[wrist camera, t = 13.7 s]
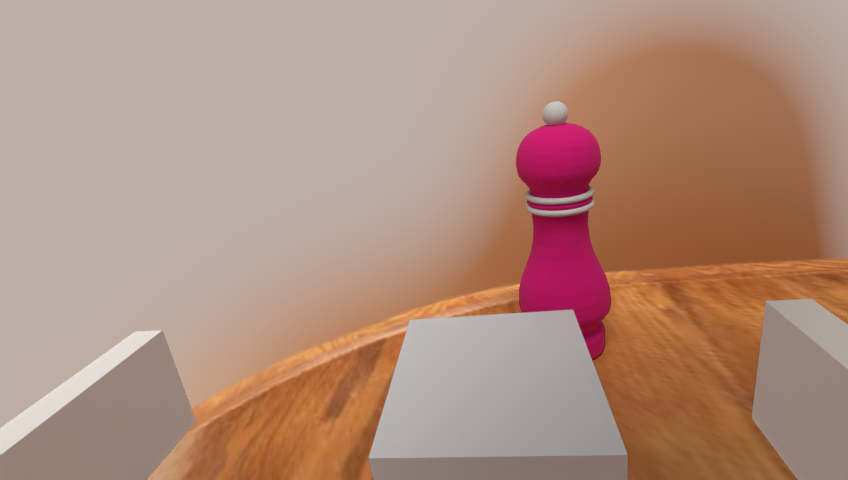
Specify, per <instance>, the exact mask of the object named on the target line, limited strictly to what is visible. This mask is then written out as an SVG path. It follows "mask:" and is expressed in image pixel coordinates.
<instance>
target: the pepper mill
mask: <svg viewBox="0 0 848 480" xmlns="http://www.w3.org/2000/svg"><path fill="white" fill-rule="evenodd" d="M567 118H568V109H567V107H566V106H565V105H564V104H563V103H561V102H551V103H549V104H548V105H547V106H546V107H545V109H544V111H543V120H544V121H545V123H546V124H547V125H545V126H542V127H540V128H538V129H536V130H534V131H532V132H530V133H529V134H528V135H527V136H526V137H525V138H524V139H523V141H522V142H521V144H520V146H519V148H518V152H517V158H516V166H517V172H518V175H519V177H520V178H521V180H522V181H523V182H524V183H525V184H526V185H527V186H528V187H529V189H530V190H529V191H527V192H526V194H525V197H526V199H527V205H526V209H527V211H528V212H530V213H532V218H533V225H534V232H533V244H532V250H531V253H530V256H529V259H528V262H527V264H526V267H525V270H524V272H523V275H522V278H521V283H520V287H519V304H520V308H521V310H522V312H523V313H526V312H542V311H557V310H573V311H574V313H575V316H576V319H577V321H578V324H579V327H580V329H581V332H582V335H583V337H584V340H585V343H586V345H587V348H588V351H589V353H590V356H591V359H594V358H596V357H598V356H599V355H600V354H601V353H602V351H603V350H604V347H605V327H604V324H603V323H602V320H603V319H604V317H605V316H606V315H607V314H608V312H609V310H610V306H611V296H610V287H609V284H608V281H607V278H606V275H605V273H604V271H603V269H602V267H601V265H600V263H599V262H598V259H597V257H596V255H595V253H594V250H593V248H592V244H591V241H590V237H589V229H588V212H589V210H590V209H591V208H592V207H593V206H594V200H593V199H592V195H593V194H594V189H593V188H592V187H591V186H589V183H590V181H591V180H592V178H593V177H594V176H595V175H596V174H597V172H598V170H599V167H600V162H601V154H600V148H599V145H598V142H597V140H596V138H595V137H594V136H593V134H592V133H591V132H590V131H589V130H587V129H585V128H583V127H581V126H579V125H576V124H568V123H565V121H566V120H567Z"/></svg>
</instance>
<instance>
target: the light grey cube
mask: <svg viewBox="0 0 848 480" xmlns="http://www.w3.org/2000/svg"><path fill="white" fill-rule="evenodd" d="M369 463H370V467H371V471H372V476H373V480H628V454H627V451H626V449H625V446H624V443H623V441H622V438H621V436H620V433H619V430H618V428H617V425H616V422H615V420H614V417H613V414H612V412H611V409H610V406H609V404H608V401H607V398H606V396H605V393H604V390H603V388H602V385H601V382H600V380H599V377H598V374H597V372H596V369H595V366H594V364H593V361H592V359H591V356H590V353H589V351H588V348H587V345H586V343H585V340H584V337H583V335H582V332H581V329H580V327H579V324H578V321H577V319H576V316H575V313H574V311H573V310H557V311H542V312H526V313H510V314H495V315H479V316H463V317H447V318H432V319H416V320H410V322H409V325H408V328H407V332H406V335H405V338H404V342H403V345H402V348H401V352H400V355H399V358H398V362H397V365H396V368H395V372H394V375H393V378H392V382H391V385H390V388H389V392H388V395H387V398H386V402H385V405H384V408H383V412H382V415H381V418H380V422H379V425H378V428H377V432H376V435H375V438H374V442H373V445H372V448H371V452H370V455H369Z"/></svg>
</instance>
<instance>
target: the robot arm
mask: <svg viewBox="0 0 848 480" xmlns="http://www.w3.org/2000/svg"><path fill="white" fill-rule="evenodd" d="M752 420H753V421H754V422H755V424H756V425H757V426H758V428H759V429H760V430H761V432H762V433H763V434H764V436H765V437H766V438H767V440H768V441H769V442H770V444H771V445H772V446H773V448H774V449H775V450H776V452H777V453H778V454H779V456H780V457H781V458H782V460H783V461H784V462H785V464H786V465H787V466H788V468H789V469H790V470H791V472H792V473H793V474H794V476H795V477H796V478H797V480H848V324H846V323H845V322H844V321H842V320H841V319H839V318H838V317H837V316H835V315H834V314H832V313H831V312H829V311H828V310H827V309H825V308H824V307H822V306H821V305H820V304H818V303H817V302H815V301H814V300H813V299H796V300H776V301H766V303H765V312H764V320H763V328H762V336H761V345H760V353H759V361H758V369H757V378H756V386H755V394H754V403H753V411H752ZM195 423H196V420H195V417H194V415H193V412H192V409H191V406H190V404H189V401H188V398H187V396H186V393H185V390H184V388H183V385H182V382H181V379H180V376H179V374H178V371H177V368H176V366H175V363H174V360H173V357H172V355H171V352H170V350H169V347H168V344H167V341H166V338H165V336H164V333H163V331H162V330H158V331H138V332H134V333H133V334H131V335H130V336H129V337H127V338H126V339H124V340H123V341H121V342H120V343H119V344H117V345H116V346H114V347H113V348H112V349H110V350H109V351H107V352H106V353H105V354H103V355H102V356H101V357H99V358H98V359H96V360H95V361H94V362H92V363H91V364H89V365H88V366H87V367H85V368H84V369H82V370H81V371H80V372H78V373H77V374H75V375H74V376H73V377H71V378H70V379H68V380H67V381H66V382H64V383H63V384H61V385H60V386H59V387H57V388H56V389H55V390H53V391H52V392H50V393H49V394H47V395H46V396H45V397H43V398H42V399H41V400H39V401H38V402H36V403H35V404H33V405H32V406H31V407H29V408H28V409H26V410H25V411H24V412H22V413H21V414H19V415H18V416H17V417H15V418H14V419H13V420H11V421H10V422H8V423H7V424H6V425H4V426H3V427H1V428H0V480H147V479H148V477H149V476H150V475H151V474H152V473H153V472H154V470H155V469H156V468H157V467H158V466H159V465H160V463H161V462H162V461H163V460H164V459H165V458H166V456H167V455H168V454H169V453H170V452H171V451H172V449H173V448H174V447H175V446H176V445H177V444H178V442H179V441H180V440H181V439H182V438H183V437H184V436H185V434H186V433H187V432H188V431H189V430H190V429H191V427H192V426H193V425H194V424H195Z"/></svg>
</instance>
